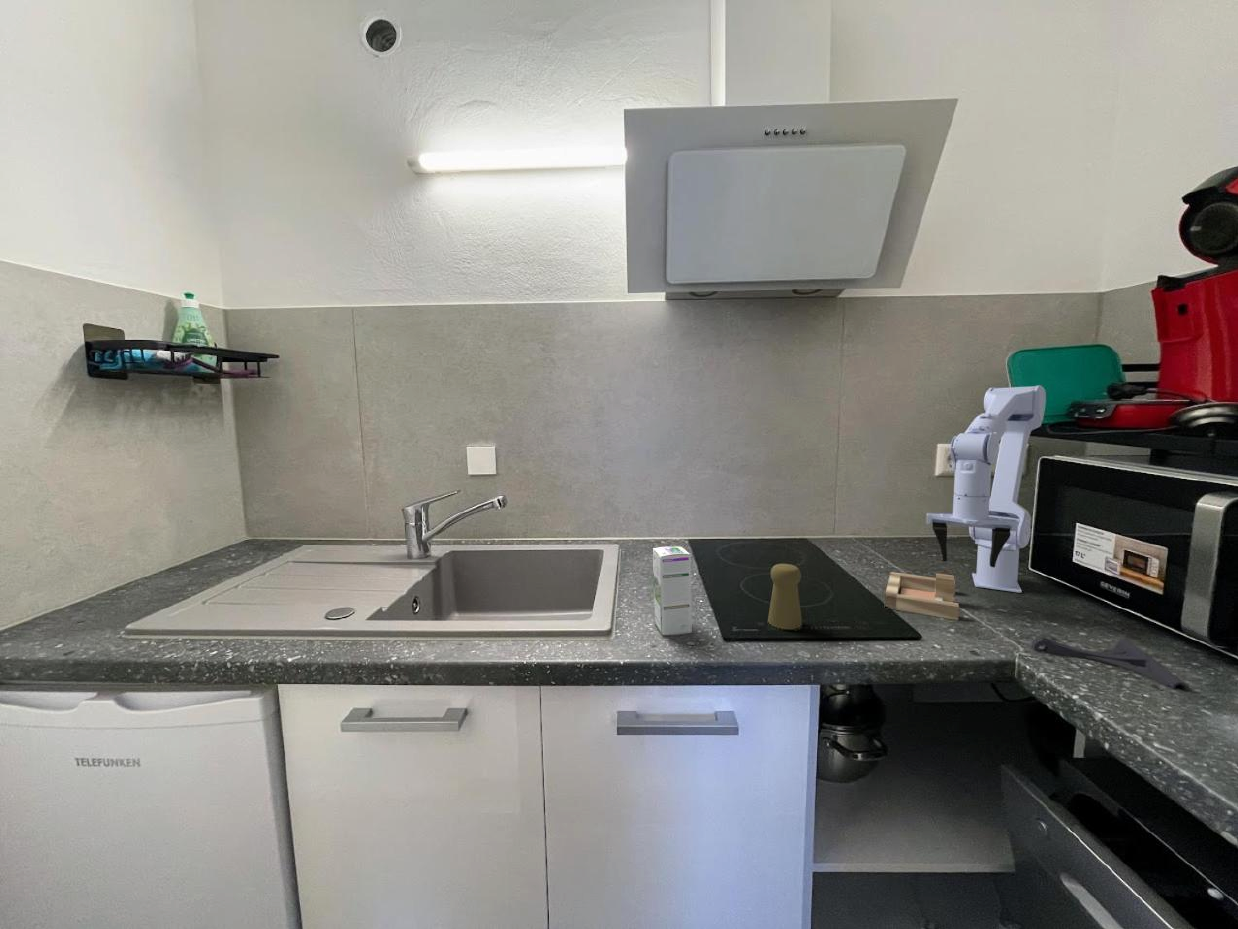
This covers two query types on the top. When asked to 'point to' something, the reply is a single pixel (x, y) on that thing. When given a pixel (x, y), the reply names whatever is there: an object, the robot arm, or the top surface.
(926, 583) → the tile rest
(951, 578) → the wood block with post
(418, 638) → the top surface
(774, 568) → the cork
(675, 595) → the syrup box
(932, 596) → the terracotta tile
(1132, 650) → the bracket
